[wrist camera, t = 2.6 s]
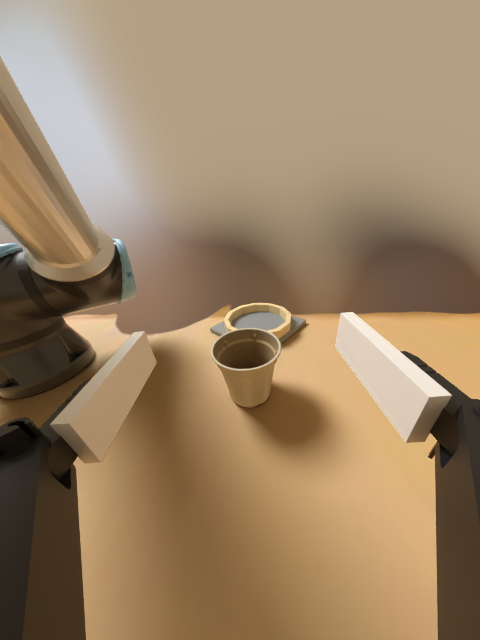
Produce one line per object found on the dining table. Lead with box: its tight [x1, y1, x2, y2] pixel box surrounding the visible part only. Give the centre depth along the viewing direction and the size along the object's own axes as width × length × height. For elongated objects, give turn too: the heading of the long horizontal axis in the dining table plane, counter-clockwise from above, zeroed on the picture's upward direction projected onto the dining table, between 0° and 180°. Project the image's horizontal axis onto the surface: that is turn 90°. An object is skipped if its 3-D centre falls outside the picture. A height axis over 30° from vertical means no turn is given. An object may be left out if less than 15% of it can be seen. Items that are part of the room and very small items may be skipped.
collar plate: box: [210, 303, 306, 344], centre depth 45 cm, size 16×16×3 cm
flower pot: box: [211, 328, 281, 407], centre depth 28 cm, size 9×9×9 cm
